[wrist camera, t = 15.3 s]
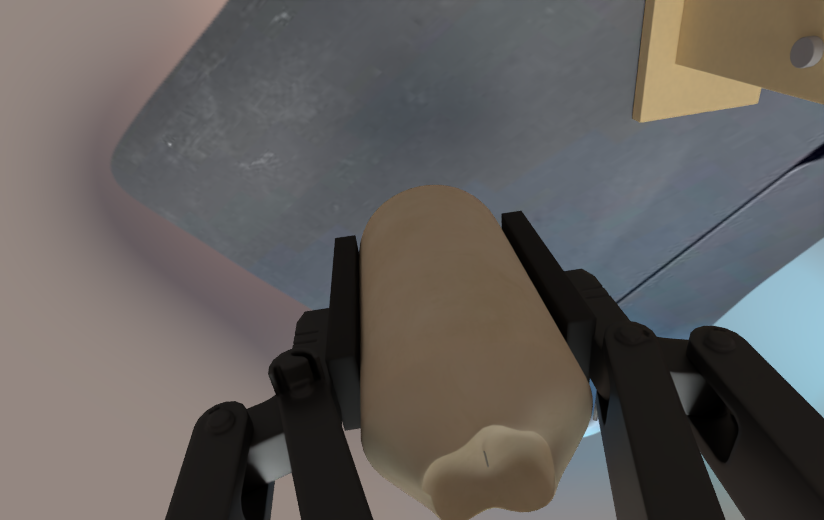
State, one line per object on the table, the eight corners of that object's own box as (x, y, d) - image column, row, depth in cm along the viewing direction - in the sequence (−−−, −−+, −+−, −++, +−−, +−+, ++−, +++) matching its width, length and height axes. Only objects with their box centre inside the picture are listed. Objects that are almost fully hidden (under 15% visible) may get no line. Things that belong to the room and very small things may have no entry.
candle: (528, 229, 18) (677, 452, 10) (442, 325, 20) (504, 576, 12) (414, 153, 16) (478, 351, 8) (331, 267, 18) (310, 522, 10)
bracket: (653, -72, 30) (849, -104, 18) (792, -93, 30) (1076, -139, 18) (631, 118, 36) (766, 187, 24) (746, 100, 36) (935, 159, 24)
